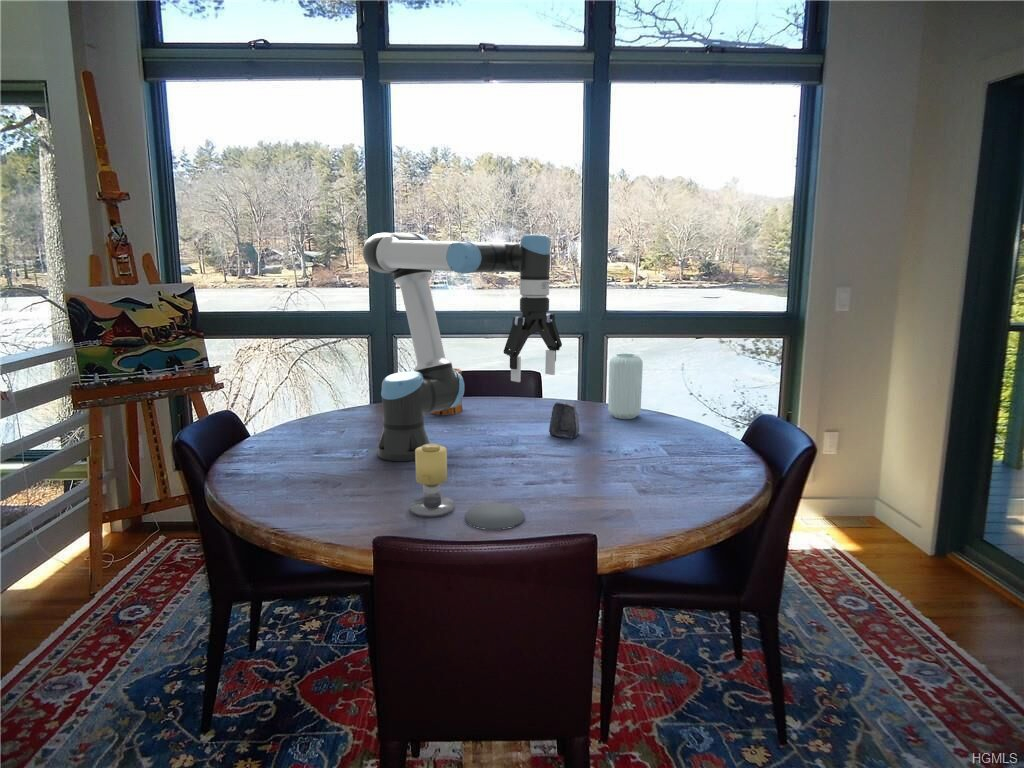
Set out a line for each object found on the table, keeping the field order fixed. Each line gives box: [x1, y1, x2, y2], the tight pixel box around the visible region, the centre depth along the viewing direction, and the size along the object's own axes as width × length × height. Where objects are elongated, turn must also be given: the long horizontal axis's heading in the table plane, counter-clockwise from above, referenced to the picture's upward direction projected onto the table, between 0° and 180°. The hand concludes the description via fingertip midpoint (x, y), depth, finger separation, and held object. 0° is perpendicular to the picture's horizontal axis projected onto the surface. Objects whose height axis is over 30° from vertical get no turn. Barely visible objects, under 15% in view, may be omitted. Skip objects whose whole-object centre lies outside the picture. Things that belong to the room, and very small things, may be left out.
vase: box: [607, 352, 644, 420], centre depth 231 cm, size 12×12×22 cm
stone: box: [548, 401, 580, 439], centre depth 209 cm, size 12×10×10 cm
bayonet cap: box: [414, 443, 448, 485], centre depth 146 cm, size 7×9×8 cm
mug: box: [428, 367, 464, 416], centre depth 237 cm, size 20×14×15 cm
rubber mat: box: [464, 502, 525, 530], centre depth 144 cm, size 13×13×1 cm
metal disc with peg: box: [409, 483, 455, 519], centre depth 148 cm, size 10×10×7 cm
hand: (533, 377), depth 171 cm, fingers open, 13 cm apart
